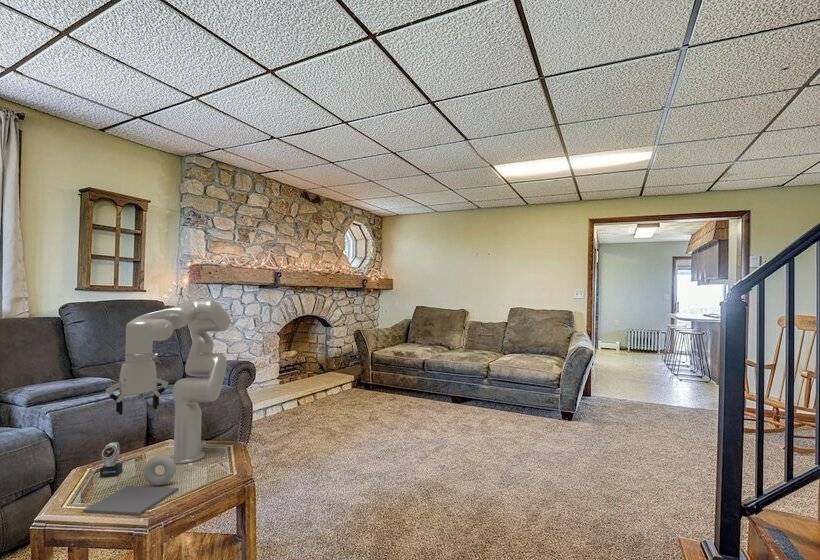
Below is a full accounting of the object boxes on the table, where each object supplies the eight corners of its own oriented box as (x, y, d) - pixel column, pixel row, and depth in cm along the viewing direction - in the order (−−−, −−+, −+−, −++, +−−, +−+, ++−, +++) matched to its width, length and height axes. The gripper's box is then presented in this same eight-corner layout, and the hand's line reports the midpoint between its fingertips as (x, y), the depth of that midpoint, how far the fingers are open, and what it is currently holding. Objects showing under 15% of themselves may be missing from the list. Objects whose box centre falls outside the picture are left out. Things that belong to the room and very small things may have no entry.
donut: (140, 488, 139) (141, 457, 140) (145, 484, 142) (146, 454, 143) (173, 486, 141) (174, 455, 142) (177, 482, 144) (178, 452, 145)
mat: (127, 488, 140) (128, 485, 140) (178, 490, 138) (178, 487, 138) (82, 512, 123) (82, 509, 123) (139, 515, 121) (139, 512, 121)
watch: (97, 479, 147) (98, 447, 147) (107, 471, 154) (108, 440, 155) (115, 478, 148) (117, 446, 149) (124, 469, 156) (125, 439, 157)
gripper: (165, 354, 147) (164, 404, 146) (105, 360, 135) (103, 413, 134) (171, 357, 141) (170, 408, 140) (108, 362, 129) (107, 418, 129)
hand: (137, 411), depth 137 cm, fingers open, 9 cm apart
